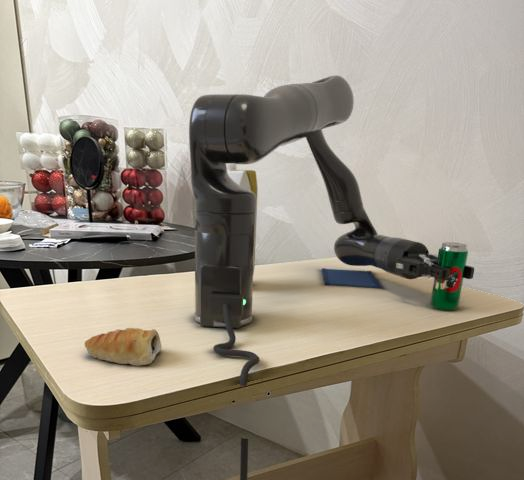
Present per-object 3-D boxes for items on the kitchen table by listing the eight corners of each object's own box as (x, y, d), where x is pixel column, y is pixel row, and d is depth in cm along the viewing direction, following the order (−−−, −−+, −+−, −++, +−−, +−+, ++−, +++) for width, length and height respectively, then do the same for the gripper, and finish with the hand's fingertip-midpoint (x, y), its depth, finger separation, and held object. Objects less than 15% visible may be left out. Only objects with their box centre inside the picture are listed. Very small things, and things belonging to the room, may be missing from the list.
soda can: (463, 309, 98) (475, 245, 94) (445, 312, 95) (456, 246, 91) (442, 303, 102) (452, 241, 98) (424, 305, 99) (434, 242, 95)
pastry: (77, 362, 65) (75, 333, 64) (97, 345, 71) (95, 318, 70) (151, 367, 65) (150, 338, 63) (164, 349, 71) (164, 322, 70)
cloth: (380, 288, 112) (381, 285, 112) (324, 284, 112) (325, 282, 112) (370, 273, 127) (371, 271, 127) (321, 270, 127) (321, 268, 127)
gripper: (374, 239, 104) (432, 254, 90) (430, 238, 110) (493, 252, 95) (370, 276, 107) (426, 296, 92) (425, 273, 112) (486, 292, 98)
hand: (460, 274), depth 94 cm, fingers closed on soda can, 5 cm apart
